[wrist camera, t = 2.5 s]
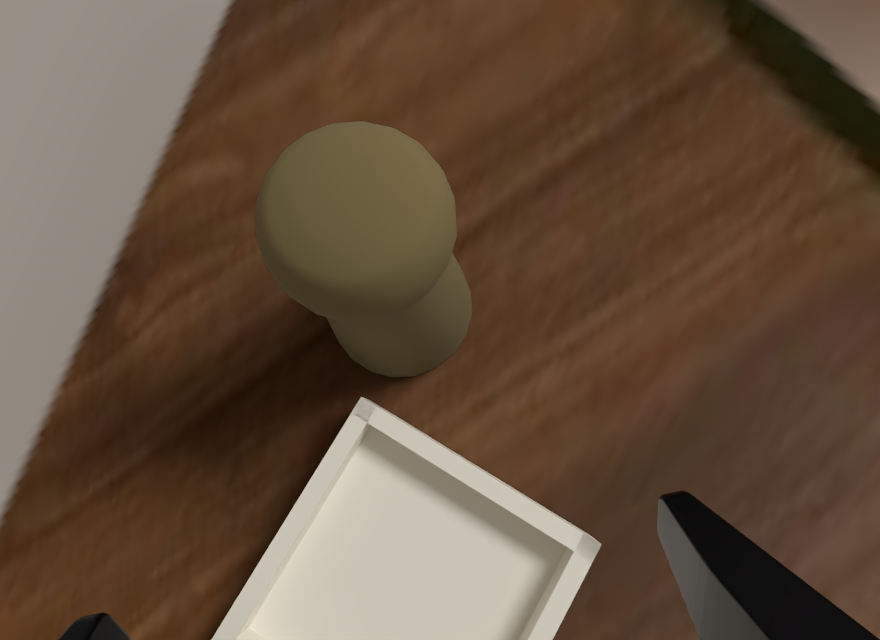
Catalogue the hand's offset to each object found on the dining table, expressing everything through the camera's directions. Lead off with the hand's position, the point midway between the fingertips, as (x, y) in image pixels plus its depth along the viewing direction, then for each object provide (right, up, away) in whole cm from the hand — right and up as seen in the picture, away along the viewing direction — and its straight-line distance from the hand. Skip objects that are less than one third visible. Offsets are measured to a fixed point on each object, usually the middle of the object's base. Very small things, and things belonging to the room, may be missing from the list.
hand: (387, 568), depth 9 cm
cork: (-1, +5, +15) cm, 16 cm away
